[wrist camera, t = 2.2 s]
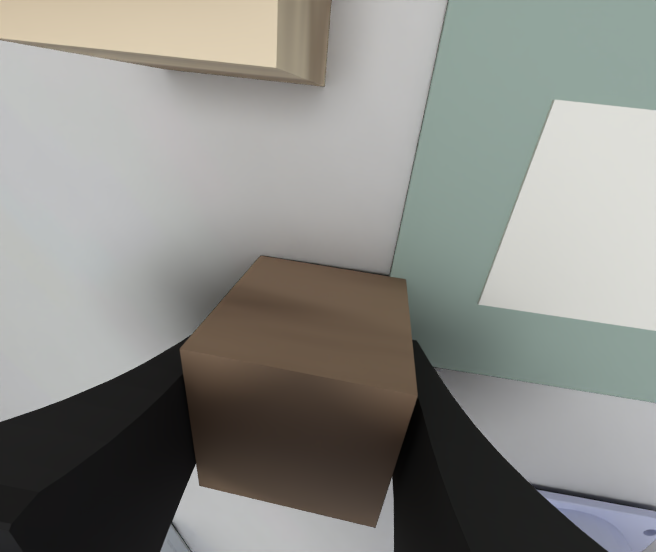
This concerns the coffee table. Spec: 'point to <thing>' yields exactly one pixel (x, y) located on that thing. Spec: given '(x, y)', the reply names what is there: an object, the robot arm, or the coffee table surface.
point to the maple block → (183, 34)
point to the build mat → (538, 196)
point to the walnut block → (303, 388)
